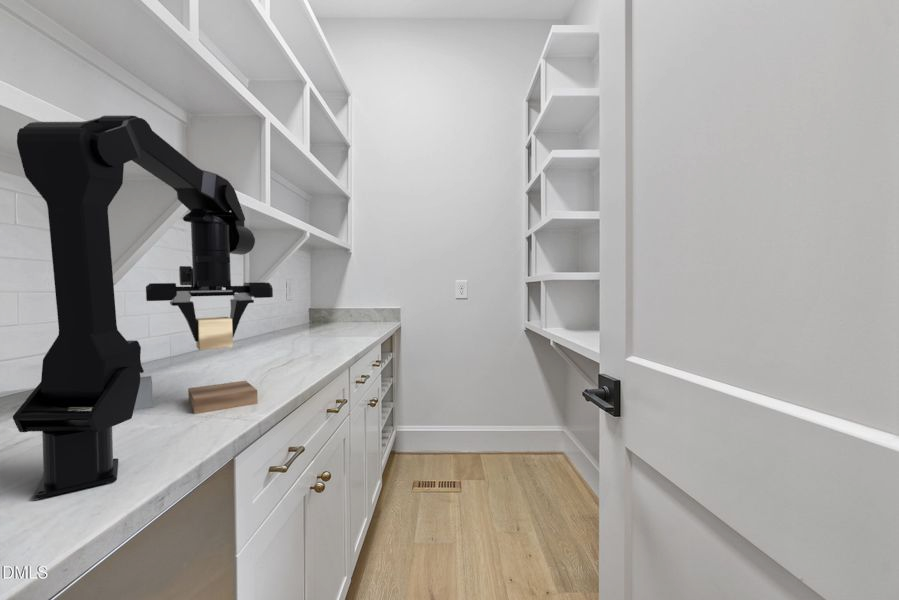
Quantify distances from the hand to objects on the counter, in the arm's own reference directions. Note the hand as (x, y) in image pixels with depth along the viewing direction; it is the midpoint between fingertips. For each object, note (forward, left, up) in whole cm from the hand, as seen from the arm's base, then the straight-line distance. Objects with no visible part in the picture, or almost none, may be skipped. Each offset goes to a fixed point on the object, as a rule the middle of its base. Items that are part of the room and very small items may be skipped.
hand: (214, 339), depth 71 cm
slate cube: (+11, +11, -13) cm, 20 cm away
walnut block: (+4, -2, -13) cm, 14 cm away
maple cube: (0, 0, -1) cm, 1 cm away
